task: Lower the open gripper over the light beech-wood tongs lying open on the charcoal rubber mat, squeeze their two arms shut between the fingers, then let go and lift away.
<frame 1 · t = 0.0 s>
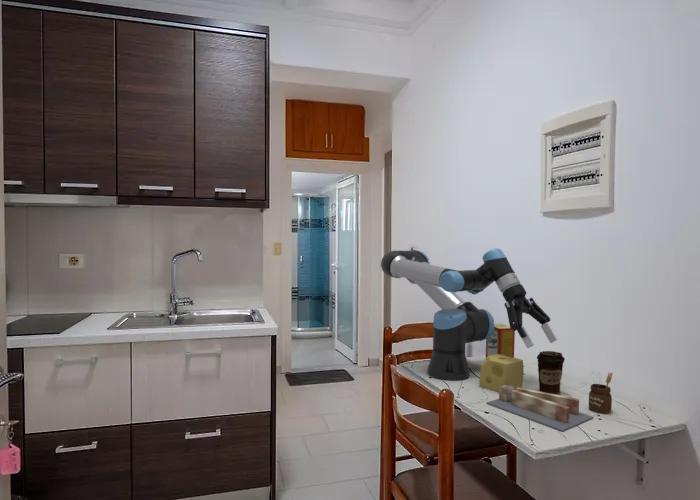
hand: (542, 343, 152), 15 cm above the table, tool tilted 35°, fingers open, 13 cm apart
tongs swing arm: (546, 400, 135), point 2 cm above the table, hinge at 20.0°
coffee cup: (549, 393, 150), on the table
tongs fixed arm: (509, 402, 140), resting on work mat
cheese: (501, 388, 154), on the table
utensil holder: (600, 410, 135), on the table
baking soda box: (499, 365, 181), on the table
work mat: (537, 410, 134), on the table
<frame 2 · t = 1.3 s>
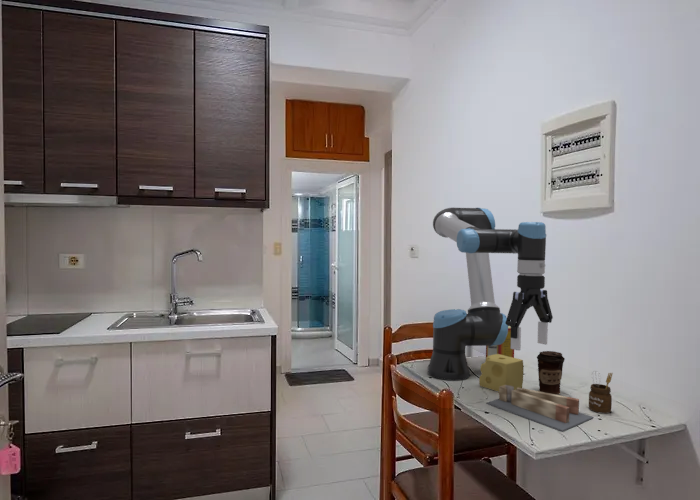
hand: (529, 346, 135), 18 cm above the table, tool pointing down, fingers open, 13 cm apart
nothing on the table moved.
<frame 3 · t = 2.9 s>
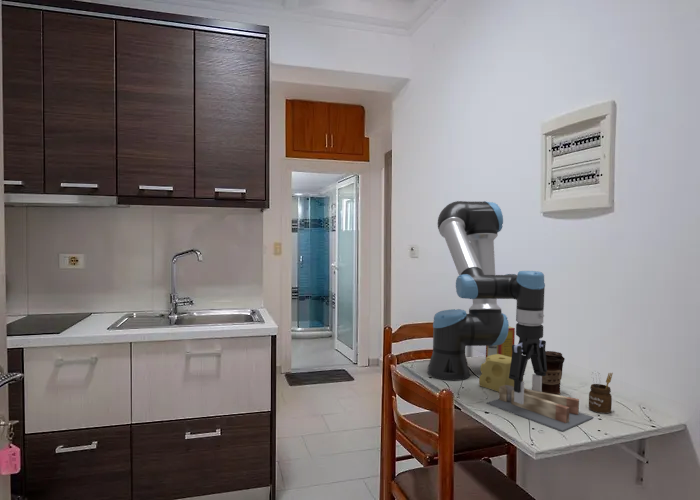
hand: (527, 399, 136), 3 cm above the table, tool pointing down, fingers open, 8 cm apart
tongs swing arm: (546, 400, 135), point 2 cm above the table, hinge at 19.9°, touching gripper
everything else where it was.
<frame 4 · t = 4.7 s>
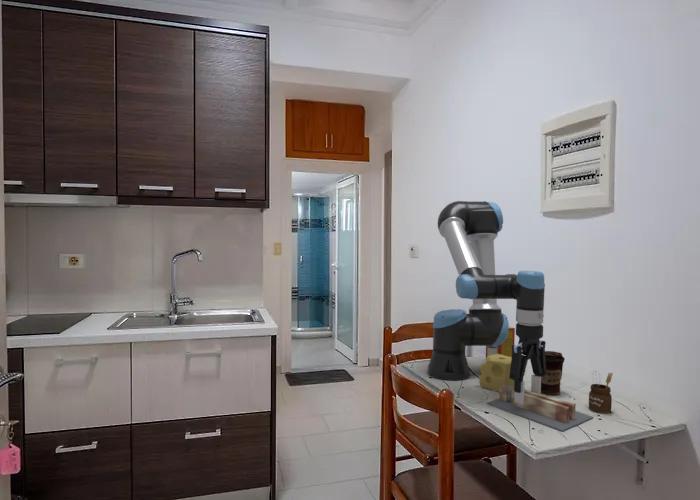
hand: (527, 400, 136), 2 cm above the table, tool pointing down, fingers open, 8 cm apart
tongs swing arm: (544, 403, 133), point 2 cm above the table, hinge at 4.3°
everything else where it was.
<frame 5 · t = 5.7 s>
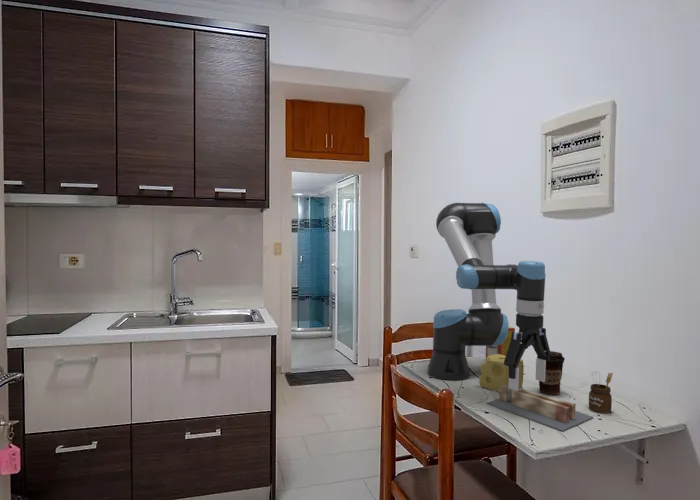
hand: (527, 384, 136), 7 cm above the table, tool pointing down, fingers open, 13 cm apart
nothing on the table moved.
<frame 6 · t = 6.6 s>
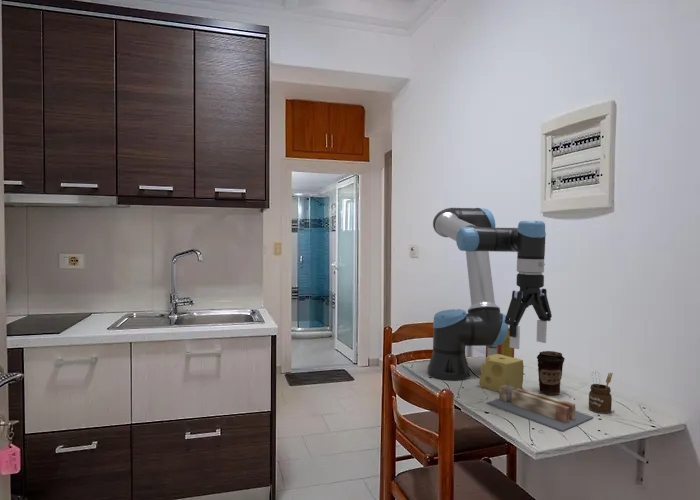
hand: (528, 345, 135), 19 cm above the table, tool pointing down, fingers open, 13 cm apart
nothing on the table moved.
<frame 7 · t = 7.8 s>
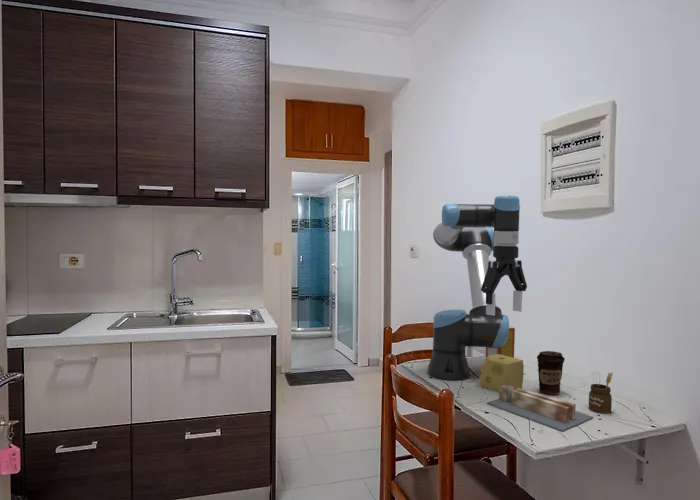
hand: (504, 313, 144), 27 cm above the table, tool pointing down, fingers open, 13 cm apart
nothing on the table moved.
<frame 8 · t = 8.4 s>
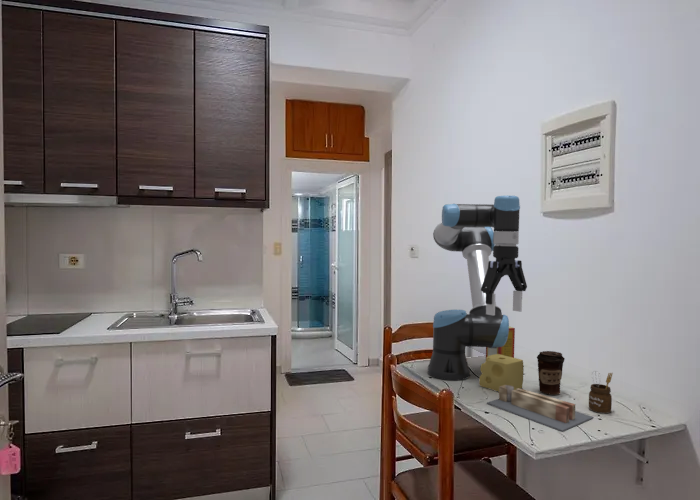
hand: (504, 313, 144), 27 cm above the table, tool pointing down, fingers open, 13 cm apart
nothing on the table moved.
at the end: tongs swing arm at +4° (first picture: +20°); the gripper is holding nothing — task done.
